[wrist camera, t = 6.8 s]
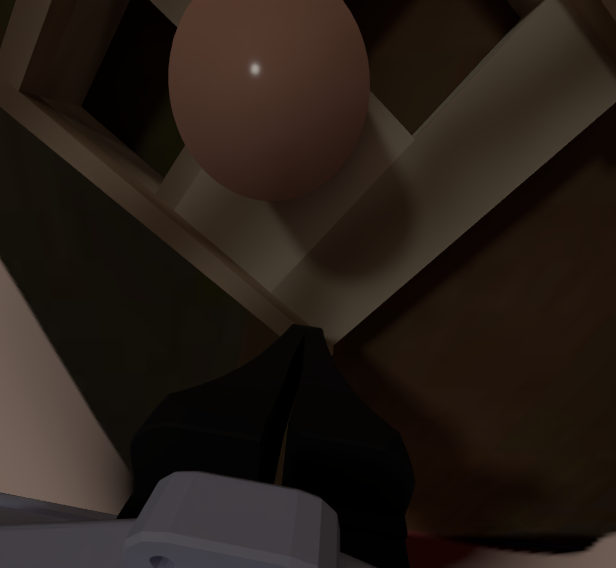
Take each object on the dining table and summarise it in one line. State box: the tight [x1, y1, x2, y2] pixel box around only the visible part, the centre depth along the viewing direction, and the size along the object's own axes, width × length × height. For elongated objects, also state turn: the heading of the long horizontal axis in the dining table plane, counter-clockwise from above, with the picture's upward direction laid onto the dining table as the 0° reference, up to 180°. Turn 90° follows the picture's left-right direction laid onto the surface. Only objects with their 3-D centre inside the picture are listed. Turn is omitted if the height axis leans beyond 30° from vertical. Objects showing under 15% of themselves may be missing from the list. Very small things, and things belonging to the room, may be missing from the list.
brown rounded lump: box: [168, 0, 370, 201], centre depth 9 cm, size 5×5×4 cm
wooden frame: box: [0, 0, 616, 356], centre depth 11 cm, size 17×16×3 cm
